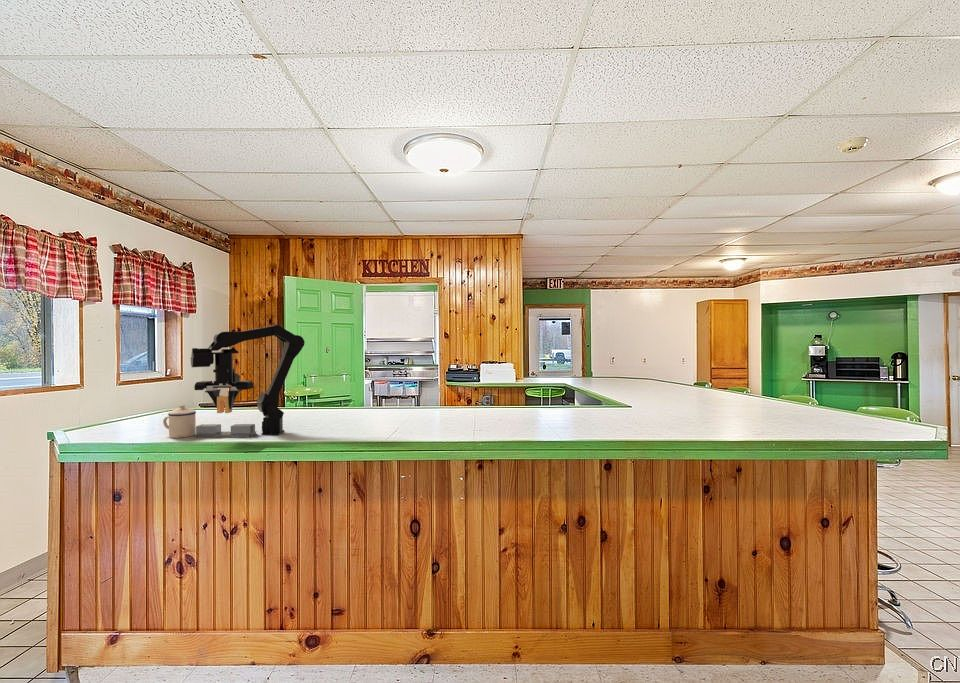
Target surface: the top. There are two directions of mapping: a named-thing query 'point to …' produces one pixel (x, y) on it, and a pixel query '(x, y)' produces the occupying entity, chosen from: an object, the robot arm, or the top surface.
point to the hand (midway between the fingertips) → (224, 409)
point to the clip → (221, 404)
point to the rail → (215, 431)
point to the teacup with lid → (181, 422)
